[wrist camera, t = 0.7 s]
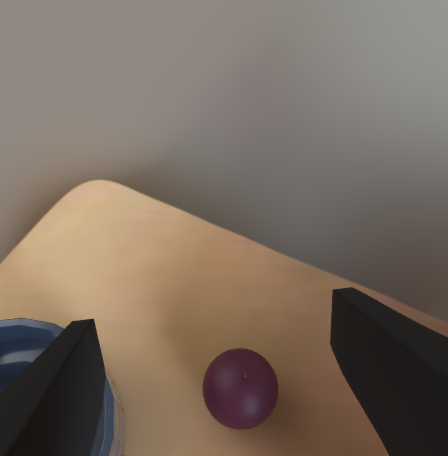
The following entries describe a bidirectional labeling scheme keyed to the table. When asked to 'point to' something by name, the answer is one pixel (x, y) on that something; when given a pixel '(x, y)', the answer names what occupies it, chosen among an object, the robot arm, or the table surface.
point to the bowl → (30, 349)
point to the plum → (240, 389)
